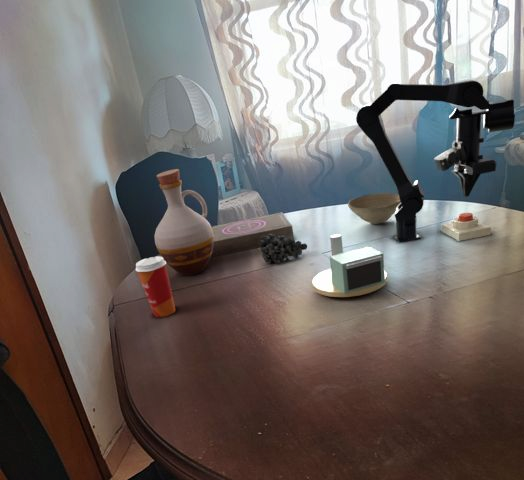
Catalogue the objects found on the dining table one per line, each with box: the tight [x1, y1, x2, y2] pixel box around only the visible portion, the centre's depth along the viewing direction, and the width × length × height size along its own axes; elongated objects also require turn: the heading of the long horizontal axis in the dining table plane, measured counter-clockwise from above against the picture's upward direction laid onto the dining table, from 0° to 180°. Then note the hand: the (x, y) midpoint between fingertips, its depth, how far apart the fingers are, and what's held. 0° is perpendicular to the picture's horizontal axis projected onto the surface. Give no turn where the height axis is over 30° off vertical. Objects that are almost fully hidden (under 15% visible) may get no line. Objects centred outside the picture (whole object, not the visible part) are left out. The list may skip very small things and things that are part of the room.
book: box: [210, 212, 295, 258], centre depth 165 cm, size 30×22×5 cm
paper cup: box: [135, 255, 176, 318], centre depth 116 cm, size 8×8×14 cm
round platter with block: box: [311, 233, 388, 298], centre depth 110 cm, size 18×19×10 cm
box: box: [441, 215, 492, 242], centre depth 132 cm, size 11×9×4 cm
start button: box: [458, 212, 474, 222], centre depth 131 cm, size 4×4×2 cm
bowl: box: [347, 192, 401, 225], centre depth 156 cm, size 18×18×8 cm
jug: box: [154, 168, 213, 276], centre depth 140 cm, size 20×18×30 cm
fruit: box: [256, 234, 308, 265], centre depth 138 cm, size 9×8×15 cm
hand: (466, 196), depth 128 cm, fingers closed
